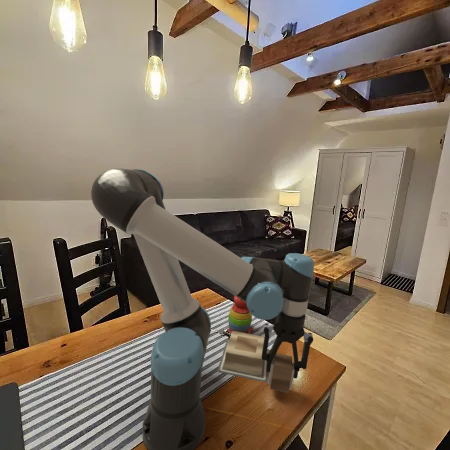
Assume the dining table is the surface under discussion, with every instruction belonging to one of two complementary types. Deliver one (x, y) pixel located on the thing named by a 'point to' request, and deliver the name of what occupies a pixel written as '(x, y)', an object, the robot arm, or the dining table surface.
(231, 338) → the plinth block
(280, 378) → the walnut block
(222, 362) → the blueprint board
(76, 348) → the dining table surface
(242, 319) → the stacking bear
